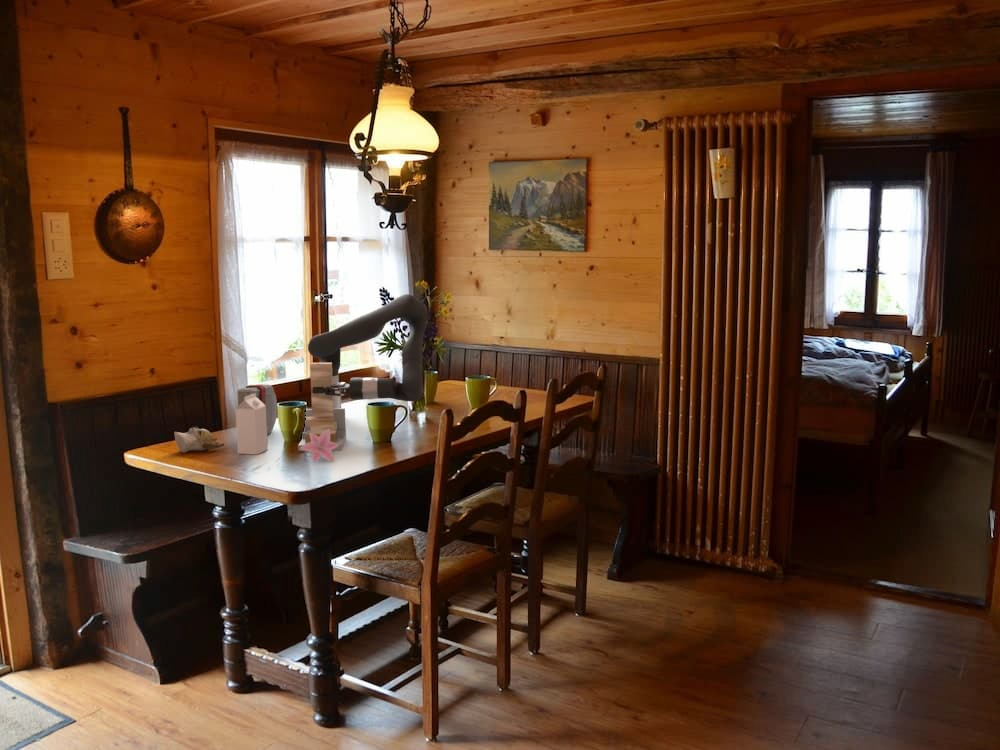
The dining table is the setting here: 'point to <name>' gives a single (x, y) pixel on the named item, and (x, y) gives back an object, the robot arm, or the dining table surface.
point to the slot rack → (341, 427)
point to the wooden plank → (321, 378)
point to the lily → (320, 446)
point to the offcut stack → (321, 427)
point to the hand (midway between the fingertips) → (313, 389)
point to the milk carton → (251, 426)
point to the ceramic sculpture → (195, 440)
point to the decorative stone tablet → (266, 397)
